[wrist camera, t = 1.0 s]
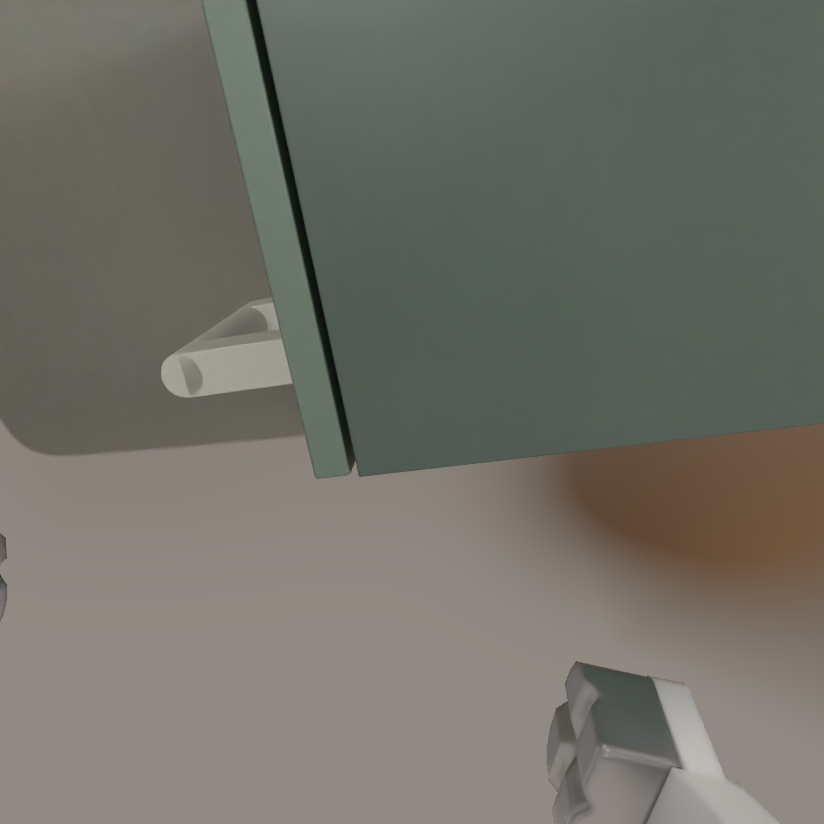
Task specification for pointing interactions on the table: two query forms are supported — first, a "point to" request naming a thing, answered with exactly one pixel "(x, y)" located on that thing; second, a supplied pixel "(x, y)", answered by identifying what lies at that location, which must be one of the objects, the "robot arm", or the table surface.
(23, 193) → the table surface
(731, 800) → the robot arm
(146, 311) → the table surface
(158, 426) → the table surface
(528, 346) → the green cabinet
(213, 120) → the table surface
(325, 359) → the cabinet door
